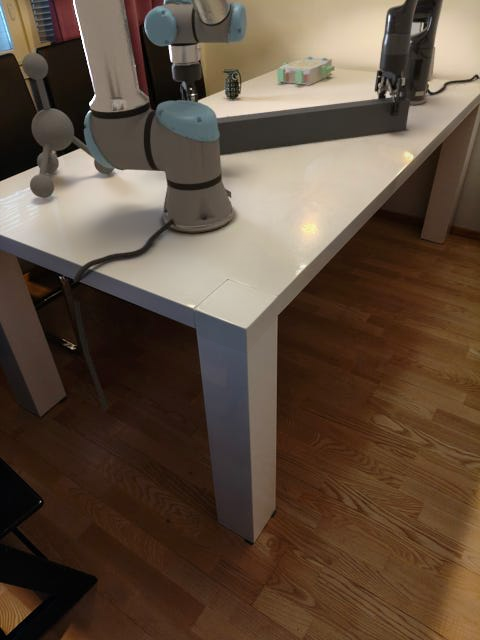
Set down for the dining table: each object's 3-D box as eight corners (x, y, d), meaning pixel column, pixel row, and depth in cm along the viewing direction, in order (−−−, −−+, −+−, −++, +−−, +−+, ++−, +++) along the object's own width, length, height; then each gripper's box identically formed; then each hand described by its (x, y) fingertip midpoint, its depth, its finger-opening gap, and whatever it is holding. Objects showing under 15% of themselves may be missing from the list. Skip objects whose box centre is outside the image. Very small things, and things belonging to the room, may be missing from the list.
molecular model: (125, 187, 123) (98, 53, 104) (35, 204, 117) (-11, 66, 98) (110, 158, 140) (84, 39, 122) (30, 172, 134) (-9, 49, 116)
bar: (176, 160, 137) (172, 128, 131) (174, 154, 141) (170, 123, 135) (405, 130, 148) (410, 99, 143) (397, 125, 152) (402, 95, 146)
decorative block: (300, 55, 216) (341, 58, 206) (299, 71, 220) (340, 74, 210) (268, 66, 200) (311, 70, 190) (268, 83, 204) (310, 87, 194)
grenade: (223, 100, 185) (221, 71, 179) (226, 96, 190) (225, 68, 184) (239, 100, 184) (238, 71, 178) (243, 96, 188) (242, 68, 182)
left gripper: (206, 67, 119) (214, 161, 133) (194, 55, 133) (202, 141, 147) (176, 70, 117) (187, 165, 132) (167, 58, 131) (178, 144, 146)
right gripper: (420, 53, 131) (410, 116, 141) (395, 46, 142) (387, 105, 152) (395, 56, 130) (386, 119, 139) (371, 48, 141) (364, 107, 150)
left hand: (195, 152), depth 139 cm, fingers closed on bar, 5 cm apart
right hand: (387, 112), depth 146 cm, fingers open, 8 cm apart
